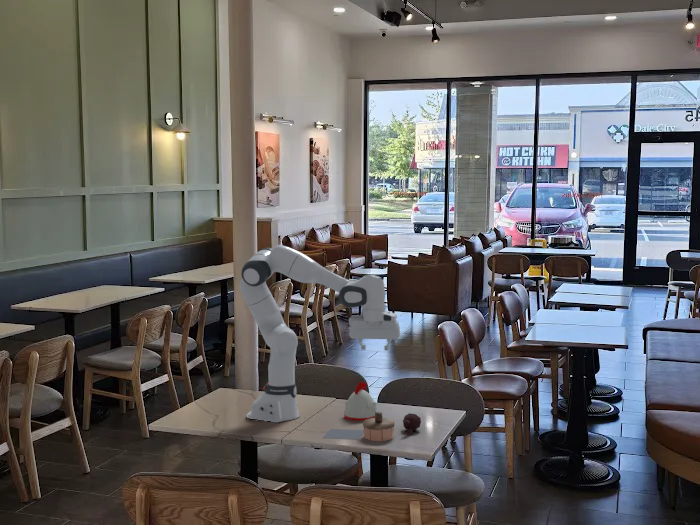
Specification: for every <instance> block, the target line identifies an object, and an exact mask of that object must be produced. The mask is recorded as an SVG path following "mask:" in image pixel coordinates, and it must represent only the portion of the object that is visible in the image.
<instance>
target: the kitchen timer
mask: <svg viewBox="0 0 700 525" xmlns="http://www.w3.org/2000/svg"><path fill="white" fill-rule="evenodd" d="M367 386H368V383H366V381H364V380H363V381H360V382H357V385H355V389H353V392H352V393H351V395H350V396H349V397H348V399H347V400H346V401H345V408H344V412H343V413H344V416H343V417H344V419H345V420H349V421H356V422H357V421H358V422H359V421H360V422H362V421H364V420H367V419H370V418H375V412H378V410H377V402H376V401H375V400H374V398H373V397H372V396H371V394H370V393H369V392H368V391H366V389H367Z"/></svg>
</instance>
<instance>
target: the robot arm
mask: <svg viewBox="0 0 700 525" xmlns="http://www.w3.org/2000/svg"><path fill="white" fill-rule="evenodd" d="M274 273H280V274H282V275H284V276H286V277H287V278H290V279H292V280H294V281H296V282H299V283H303V284H320V285H323V286H325V287H327V288H329V289H331V290H333V291H335V292H336V293H339V294H338V299H339V302H340V304H341V305H343V307H344V308H347V309H348V308H349V309H353V308H358V307H362V315H361V314H359V315H351V316H350V317H349V318H348V324H349V332H348V334H349V338H350V339H354V340H356V339H357V342H358V343H359V345H360V349H361V350H362V351H365V350H366V344H364V343H363V340H386V342H387V344H386V345H384V346H383V347H384V348H383V349H384V351H389V349H390V344H391V342H392V340H398V339H399V338H400V337H401V330H400V324H399V321H398V320H397V317H398V315H397V314H396V313H394V312H392V311H391V312H390V311H388V310H386V306H385V298H386V290H385V284H384V280H383V278H382V277H381V276H379V275H375V274H366V275H365V274H364V276H362V277H361V278H359V279H348V278H346V277H343V276H341V275H339V274H337V273H335V272H332V271H331V270H329V269H327V268H325V267H324V266H322V265H321V264H319V262H316V261H315V260H314V259H312V258H311V257H309V256H308V255H306V254H304V253H303V252H301V251H299V250H296V249H294V248H292V247H289V246H286V245H282V244H277V245H275V246H274V247H273V248H272V247H264V248H260V249H259V250H258V251H257V252H256V253H254V254H252V256H251V257H250V258H249V260H247V262H245V263H244V265H243V267H242V269H241V274H240V275H241V280H240V281H239V290H240V293H241V295H242V297H243V300H244V302H245V303H246V306H247V307H248V309H249V312H250V313H251V315H252V316H253V319H254V320H255V322H256V324H257V328H258V329H259V332H260V333H261V334H260V335H261V336H262V338H263V340H264V342H265V344H266V345H267V346H268V347H269V348H270V353H269V354H270V355H269V362H268V365H267V370H268V382H267V383H266V384H265V385H264V386H263V390H264V392H263V393H262V394H261V395H260V396H259V397H257V398H256V399H255V400H254V401H253V403H252V404H251V409H250V410H251V411H249V412H248V413H247V414H246V417H247V418H251V419H258V420H264V421H263V422H267V421H271V422H270V423H279V422H285V421H291V420H295V419H297V418H299V417H300V411H299V408H298V403H297V384H296V381H295V380H296V379H295V378H296V377H295V372H296V371H295V370H296V369H295V364H296V363H295V361H296V354H297V349H298V348H297V347H298V345H299V338H298V336H297V334H296V333H295V331H294V330H293V329H291V328H289V326H287V324H286V322H285V321H284V317H283V315H282V313H281V310H280V308H279V307H280V306H278V304H277V302H276V300H275V298H274V297H273V294H272V292H271V291H270V288H269V287H268V285H267V281H268V279H270V278H271V277H272V276H273V274H274ZM246 417H245V418H246ZM258 420H257V421H258Z"/></svg>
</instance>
